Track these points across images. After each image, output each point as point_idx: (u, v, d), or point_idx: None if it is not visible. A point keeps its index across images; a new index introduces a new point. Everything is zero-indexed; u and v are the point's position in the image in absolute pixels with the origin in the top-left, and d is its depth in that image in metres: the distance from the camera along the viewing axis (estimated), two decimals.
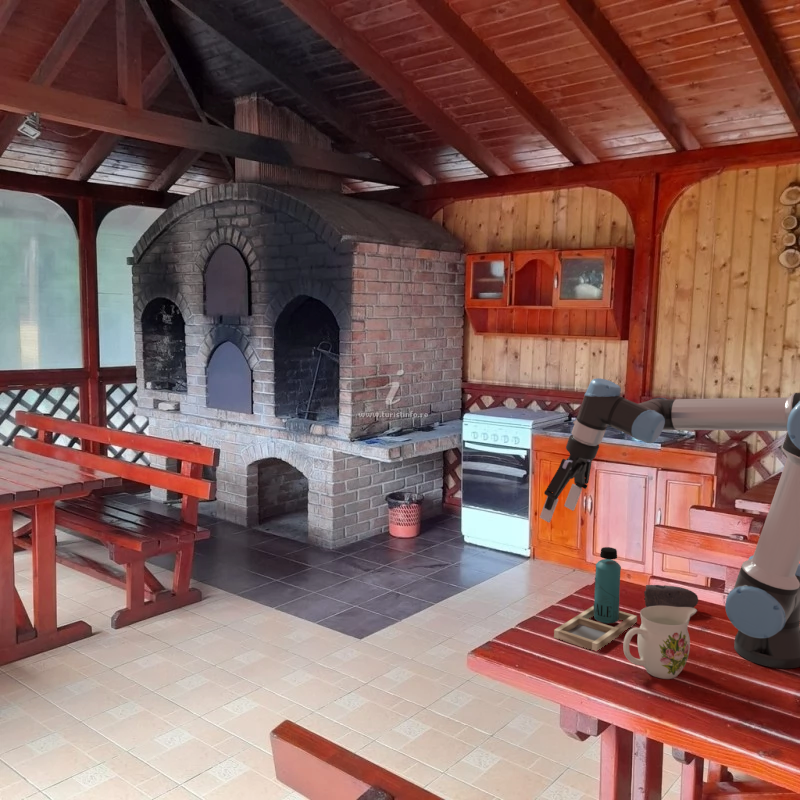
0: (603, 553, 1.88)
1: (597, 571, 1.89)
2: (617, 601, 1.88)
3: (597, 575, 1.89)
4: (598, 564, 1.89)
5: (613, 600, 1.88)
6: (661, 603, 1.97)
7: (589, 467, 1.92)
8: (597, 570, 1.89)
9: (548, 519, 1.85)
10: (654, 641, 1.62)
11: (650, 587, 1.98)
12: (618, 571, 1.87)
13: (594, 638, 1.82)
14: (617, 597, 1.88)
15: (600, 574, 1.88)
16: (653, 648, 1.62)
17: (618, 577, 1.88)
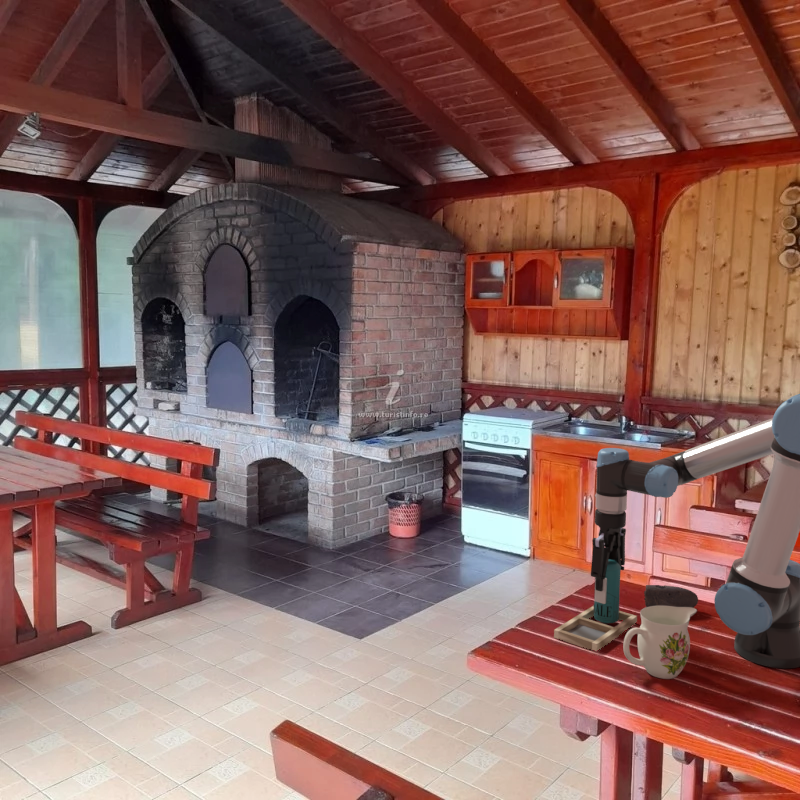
0: None
1: None
2: (617, 601, 1.88)
3: None
4: None
5: (613, 600, 1.88)
6: (661, 603, 1.97)
7: (623, 543, 1.92)
8: None
9: (603, 600, 1.87)
10: (654, 641, 1.62)
11: (650, 587, 1.98)
12: (618, 571, 1.87)
13: (594, 638, 1.82)
14: (617, 597, 1.88)
15: None
16: (653, 648, 1.62)
17: (618, 577, 1.88)
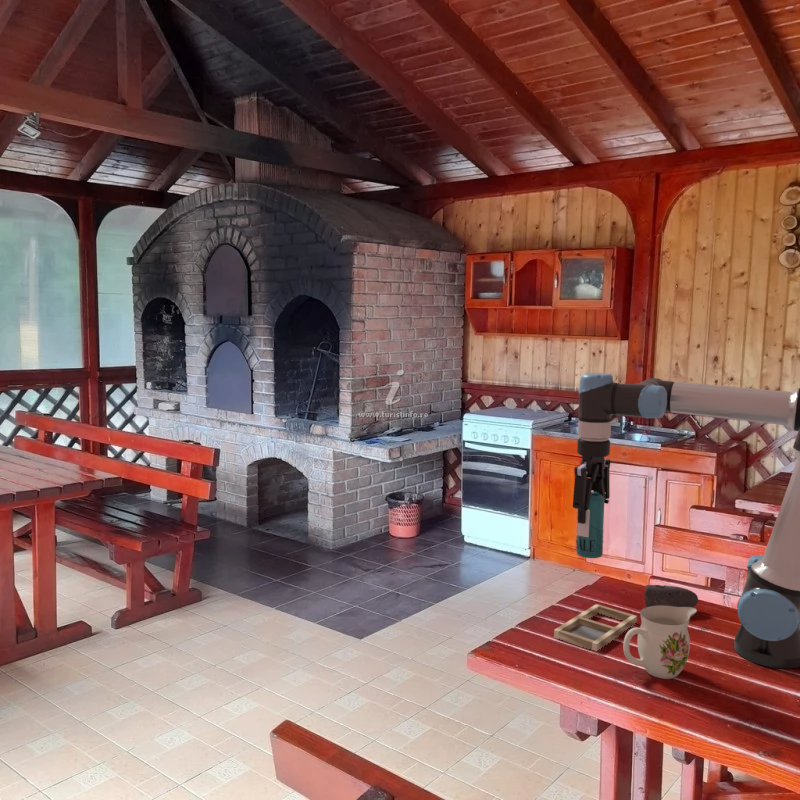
0: None
1: None
2: (601, 535, 1.78)
3: None
4: None
5: (596, 533, 1.77)
6: (661, 603, 1.97)
7: (607, 475, 1.82)
8: None
9: (586, 534, 1.77)
10: (654, 641, 1.62)
11: (650, 587, 1.98)
12: (601, 502, 1.77)
13: (594, 638, 1.82)
14: (601, 530, 1.78)
15: None
16: (653, 648, 1.62)
17: (602, 509, 1.78)
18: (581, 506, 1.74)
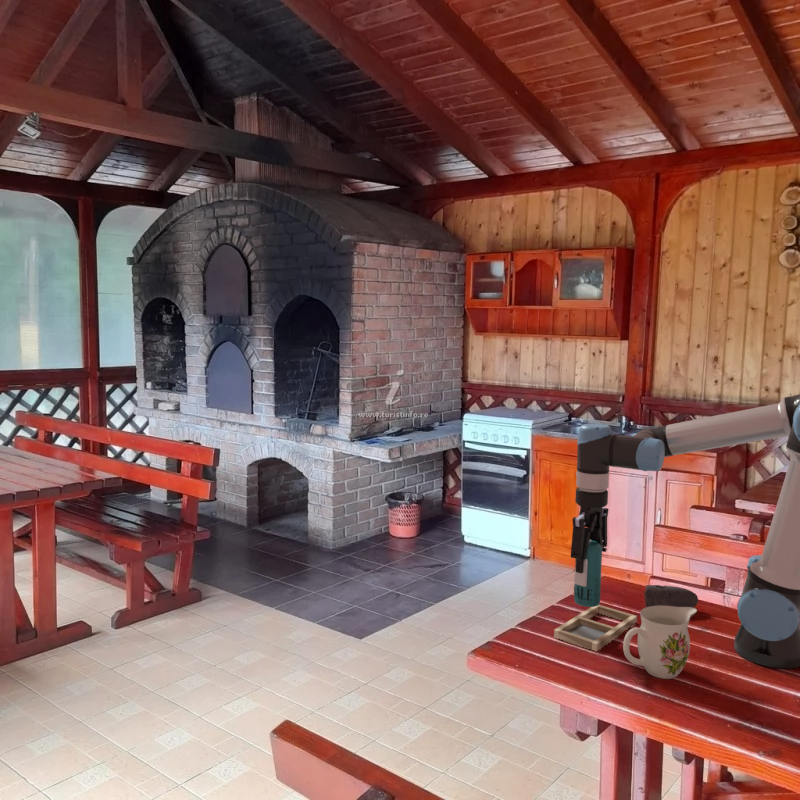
0: None
1: None
2: (598, 584, 1.80)
3: None
4: None
5: (594, 582, 1.79)
6: (661, 603, 1.97)
7: (605, 523, 1.84)
8: None
9: (583, 583, 1.78)
10: (654, 641, 1.62)
11: (650, 587, 1.98)
12: (599, 552, 1.79)
13: (594, 638, 1.82)
14: (598, 579, 1.80)
15: None
16: (653, 648, 1.62)
17: (599, 558, 1.79)
18: (579, 556, 1.75)
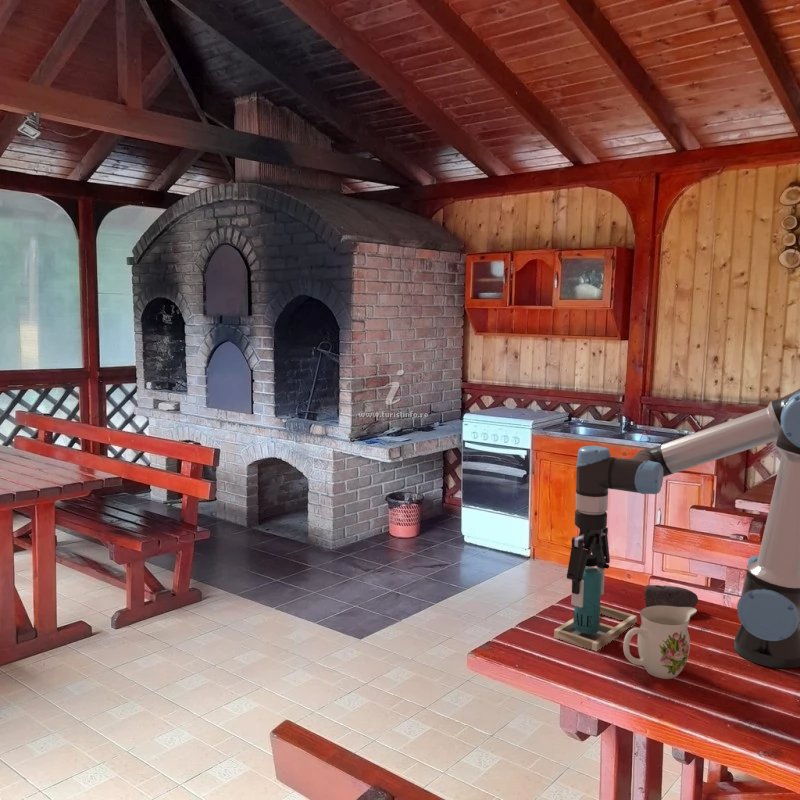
0: None
1: None
2: (598, 610, 1.81)
3: None
4: None
5: (593, 609, 1.80)
6: (661, 603, 1.97)
7: (606, 542, 1.85)
8: None
9: (580, 604, 1.78)
10: (654, 641, 1.62)
11: (650, 587, 1.98)
12: (598, 579, 1.80)
13: (594, 638, 1.82)
14: (598, 606, 1.81)
15: None
16: (653, 648, 1.62)
17: (598, 585, 1.80)
18: (575, 577, 1.75)
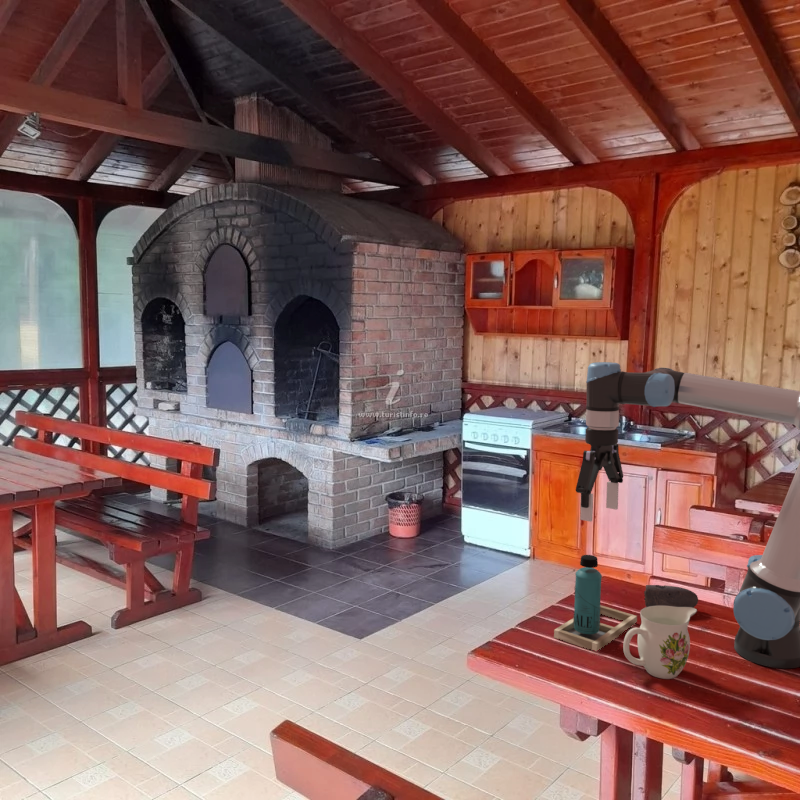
0: (583, 561, 1.80)
1: (577, 580, 1.81)
2: (598, 611, 1.81)
3: (577, 584, 1.81)
4: (578, 572, 1.81)
5: (593, 610, 1.80)
6: (661, 603, 1.97)
7: (618, 458, 1.84)
8: (577, 579, 1.81)
9: (589, 518, 1.75)
10: (654, 641, 1.62)
11: (650, 587, 1.98)
12: (598, 579, 1.79)
13: (594, 638, 1.82)
14: (598, 607, 1.80)
15: (580, 583, 1.80)
16: (653, 648, 1.62)
17: (599, 586, 1.80)
18: (584, 489, 1.72)
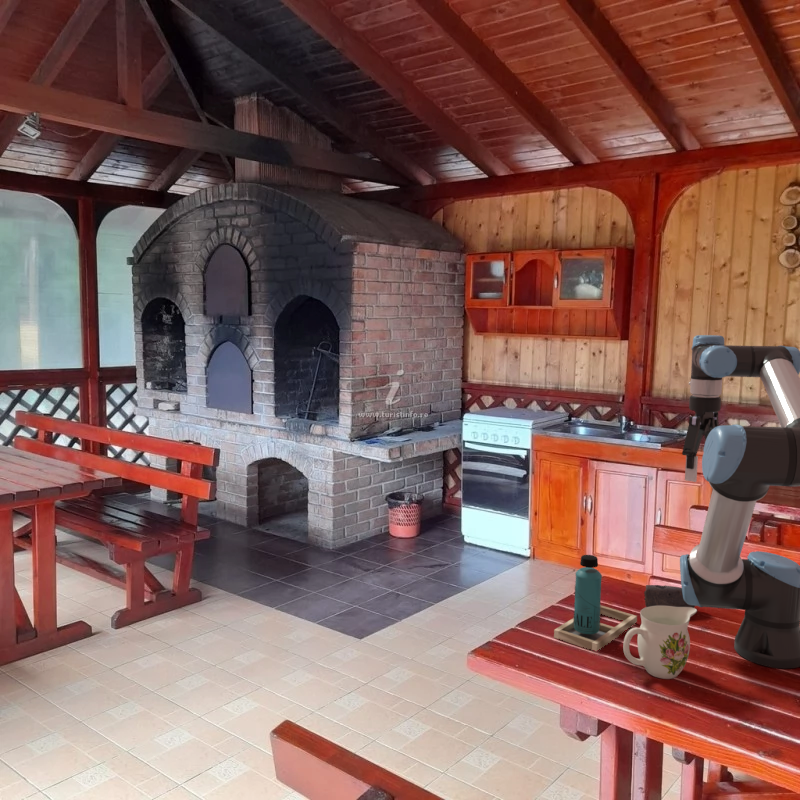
0: (583, 561, 1.80)
1: (577, 580, 1.81)
2: (598, 611, 1.81)
3: (577, 584, 1.81)
4: (578, 572, 1.81)
5: (593, 610, 1.80)
6: (661, 603, 1.97)
7: (717, 425, 1.98)
8: (577, 579, 1.81)
9: (694, 479, 1.89)
10: (654, 641, 1.62)
11: (650, 587, 1.98)
12: (598, 579, 1.79)
13: (594, 638, 1.82)
14: (598, 607, 1.80)
15: (580, 583, 1.80)
16: (653, 648, 1.62)
17: (599, 586, 1.80)
18: (691, 451, 1.86)
